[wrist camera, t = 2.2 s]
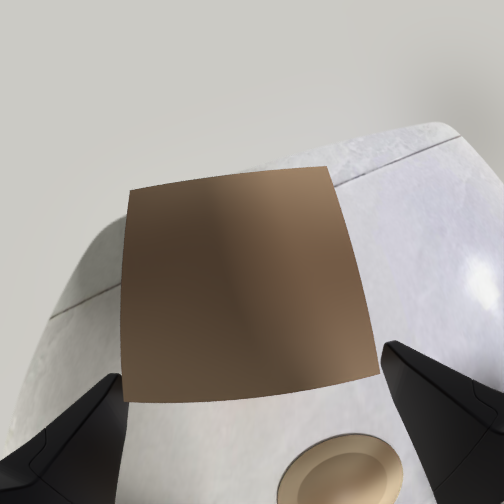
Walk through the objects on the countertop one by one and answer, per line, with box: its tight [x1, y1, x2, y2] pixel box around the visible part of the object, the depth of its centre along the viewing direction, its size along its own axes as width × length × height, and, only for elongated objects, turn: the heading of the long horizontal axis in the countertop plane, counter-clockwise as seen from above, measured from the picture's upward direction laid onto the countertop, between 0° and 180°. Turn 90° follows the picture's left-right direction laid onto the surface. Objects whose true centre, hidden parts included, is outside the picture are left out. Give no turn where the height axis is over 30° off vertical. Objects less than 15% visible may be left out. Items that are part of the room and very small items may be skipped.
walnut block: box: [120, 166, 380, 403], centre depth 12 cm, size 5×5×14 cm
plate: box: [278, 435, 403, 504], centre depth 14 cm, size 9×9×1 cm
